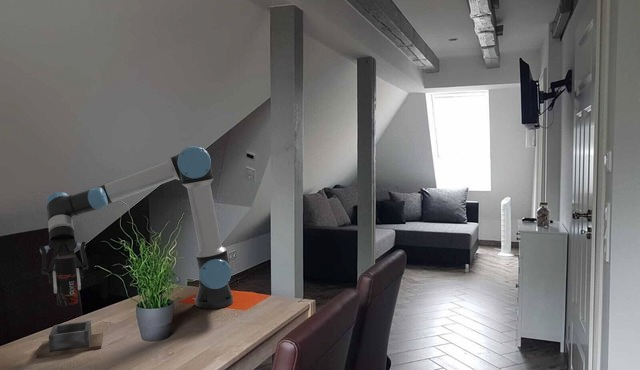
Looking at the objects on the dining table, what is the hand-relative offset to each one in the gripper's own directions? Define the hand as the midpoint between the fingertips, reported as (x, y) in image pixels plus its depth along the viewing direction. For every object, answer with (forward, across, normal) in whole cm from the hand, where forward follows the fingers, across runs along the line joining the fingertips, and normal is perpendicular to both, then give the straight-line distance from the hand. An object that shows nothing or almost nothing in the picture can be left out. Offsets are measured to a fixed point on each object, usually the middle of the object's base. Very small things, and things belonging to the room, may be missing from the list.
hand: (67, 289), depth 152 cm
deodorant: (+1, 0, -6) cm, 7 cm away
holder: (+11, -1, -16) cm, 20 cm away
